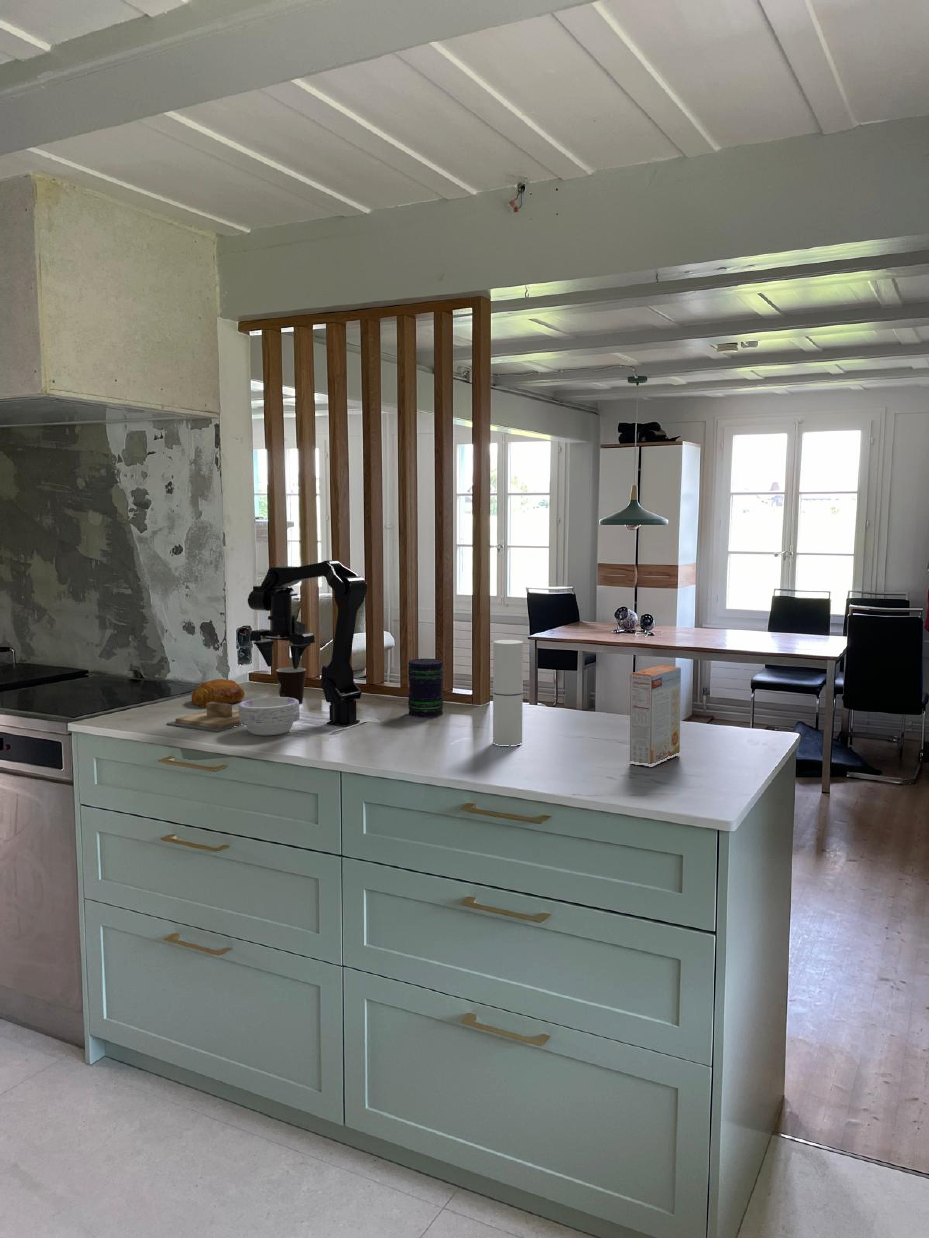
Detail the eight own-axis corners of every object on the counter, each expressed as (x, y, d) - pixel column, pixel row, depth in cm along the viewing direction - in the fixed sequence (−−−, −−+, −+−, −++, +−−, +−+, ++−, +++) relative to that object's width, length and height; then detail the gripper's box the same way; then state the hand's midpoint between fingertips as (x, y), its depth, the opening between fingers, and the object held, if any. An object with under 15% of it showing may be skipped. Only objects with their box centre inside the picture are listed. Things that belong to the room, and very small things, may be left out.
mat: (269, 717, 255) (269, 716, 254) (217, 732, 237) (217, 730, 237) (219, 711, 263) (219, 709, 263) (166, 724, 246) (166, 723, 245)
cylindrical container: (497, 747, 222) (498, 644, 219) (489, 741, 228) (489, 640, 226) (526, 746, 223) (527, 643, 221) (516, 739, 230) (517, 639, 228)
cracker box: (657, 752, 218) (659, 664, 216) (680, 756, 214) (683, 666, 212) (627, 764, 207) (629, 671, 205) (651, 768, 203) (653, 674, 201)
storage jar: (449, 715, 258) (449, 662, 256) (416, 718, 253) (416, 664, 252) (434, 709, 266) (434, 657, 265) (402, 712, 262) (402, 659, 261)
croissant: (251, 709, 277) (254, 682, 276) (205, 709, 265) (208, 682, 265) (225, 701, 287) (228, 675, 286) (179, 701, 275) (182, 674, 275)
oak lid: (262, 717, 253) (262, 701, 253) (221, 728, 239) (220, 712, 239) (218, 711, 261) (217, 695, 260) (175, 722, 247) (175, 705, 246)
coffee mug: (303, 706, 270) (302, 672, 269) (273, 706, 270) (273, 672, 269) (310, 698, 282) (310, 666, 280) (282, 698, 282) (281, 665, 281)
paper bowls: (235, 727, 242) (235, 697, 241) (294, 723, 248) (293, 694, 247) (243, 741, 228) (242, 709, 227) (304, 736, 233) (304, 705, 232)
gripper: (326, 611, 259) (327, 666, 261) (273, 607, 268) (275, 661, 270) (301, 614, 250) (302, 672, 251) (247, 611, 258) (249, 666, 260)
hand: (282, 667), depth 258 cm, fingers open, 9 cm apart
